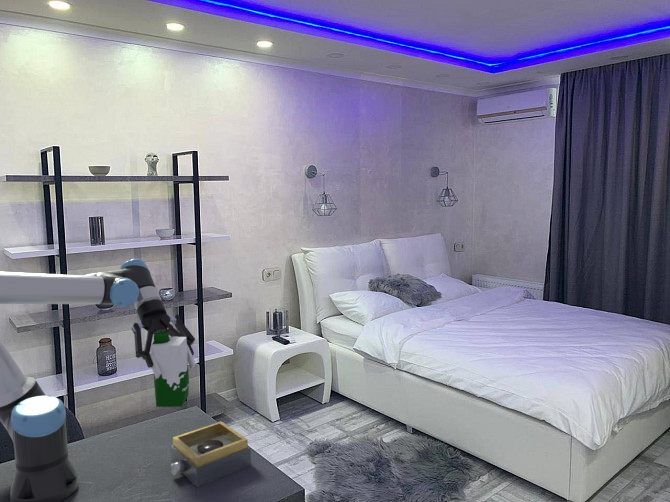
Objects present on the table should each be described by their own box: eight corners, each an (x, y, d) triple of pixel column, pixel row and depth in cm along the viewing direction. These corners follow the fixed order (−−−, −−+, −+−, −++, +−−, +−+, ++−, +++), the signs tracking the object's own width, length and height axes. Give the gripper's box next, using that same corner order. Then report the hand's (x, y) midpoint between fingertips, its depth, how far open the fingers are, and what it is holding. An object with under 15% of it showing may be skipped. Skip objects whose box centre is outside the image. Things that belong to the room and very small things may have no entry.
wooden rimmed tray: (185, 491, 132) (184, 463, 131) (160, 466, 144) (159, 441, 143) (251, 465, 144) (250, 439, 143) (223, 444, 156) (221, 420, 155)
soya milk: (161, 395, 152) (157, 329, 149) (192, 394, 153) (189, 328, 150) (151, 408, 144) (147, 339, 141) (184, 408, 144) (180, 338, 141)
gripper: (180, 305, 163) (207, 367, 154) (107, 319, 148) (133, 388, 139) (187, 292, 159) (216, 354, 150) (113, 304, 144) (140, 375, 135)
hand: (176, 371), depth 144 cm, fingers closed on soya milk, 9 cm apart
